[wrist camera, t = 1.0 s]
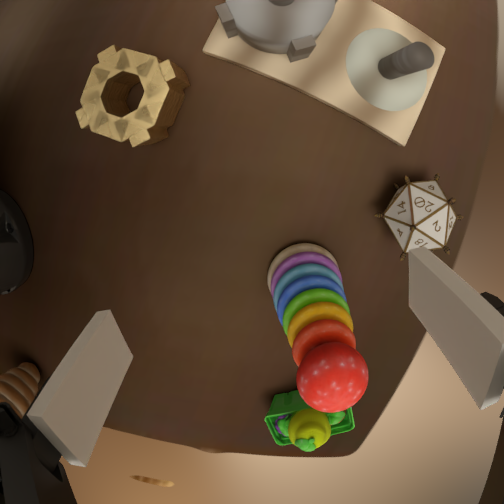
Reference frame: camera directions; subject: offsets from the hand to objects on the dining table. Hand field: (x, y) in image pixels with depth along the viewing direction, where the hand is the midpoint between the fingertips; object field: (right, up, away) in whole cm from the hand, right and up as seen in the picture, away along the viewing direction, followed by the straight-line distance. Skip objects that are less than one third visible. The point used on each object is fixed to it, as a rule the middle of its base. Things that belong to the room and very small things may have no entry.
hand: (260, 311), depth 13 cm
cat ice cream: (-38, -17, +31) cm, 52 cm away
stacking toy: (+5, 0, +23) cm, 24 cm away
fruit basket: (+8, -18, +30) cm, 36 cm away
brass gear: (-11, +18, +16) cm, 27 cm away
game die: (+17, +7, +20) cm, 27 cm away
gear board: (+8, +23, +14) cm, 28 cm away
